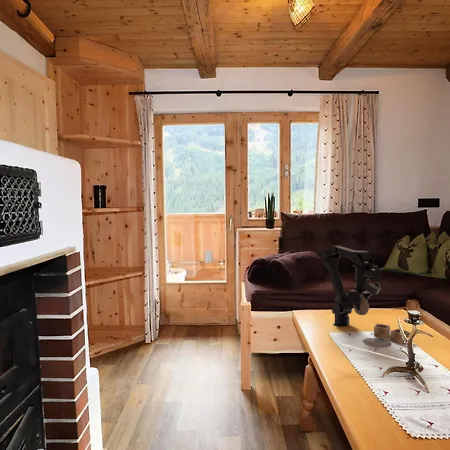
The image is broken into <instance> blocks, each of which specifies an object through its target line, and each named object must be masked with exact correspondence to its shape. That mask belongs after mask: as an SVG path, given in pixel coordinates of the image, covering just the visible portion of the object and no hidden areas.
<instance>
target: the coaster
mask: <svg viewBox="0 0 450 450" xmlns="http://www.w3.org/2000/svg"><path fill="white" fill-rule="evenodd" d="M362 342H363V344H365V345H366V346H369V347H373V348H379V349H381V348H382V349H384V348H386V349H387V348H390V347H391V346H392V343H391V341H390V340H387V339H385V338H380V337H368V338H367V337H366V338H364V339H363V340H362Z"/></svg>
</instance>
